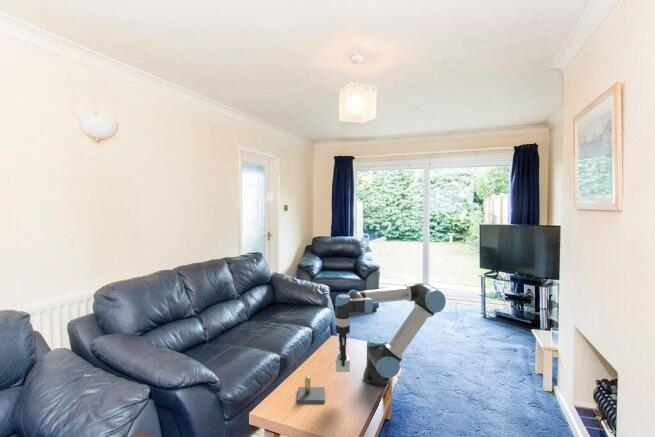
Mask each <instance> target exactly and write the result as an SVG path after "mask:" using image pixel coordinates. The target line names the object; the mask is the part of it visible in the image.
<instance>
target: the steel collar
mask: <svg viewBox="0 0 655 437" xmlns="http://www.w3.org/2000/svg"><path fill="white" fill-rule="evenodd" d="M340 358H341V354H340V353H336V354H335V372H337V373H338V372H340V360H339V359H340ZM350 371H351V362H350V355H349V353H346V372H345V373H347V372H348V373H350ZM340 373H341V372H340Z"/></svg>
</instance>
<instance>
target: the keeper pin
mask: <svg viewBox="0 0 655 437" xmlns="http://www.w3.org/2000/svg"><path fill="white" fill-rule="evenodd" d="M304 387H305V394H306V395H309V394H310V387H311V378H310V376H306V377H305V378H304Z"/></svg>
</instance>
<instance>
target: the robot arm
mask: <svg viewBox="0 0 655 437" xmlns="http://www.w3.org/2000/svg"><path fill="white" fill-rule="evenodd" d="M401 301H407V302H413V305H414V308H412V310H411V312H410V313H409V315H408V316H407V317H406V318H405V320H404V321H403V323H402V324H401V325H400V327H399V329H398V330H396V333H395V334H394V335H393V337H392V338H391V340H390V341H389V342H388V340H386V339H383V338H377V337H376V338H370V339H368V340H367V342H366V366H365V369H364V371H363V376H362V377H363V378H362V379H363V381H364V382H365V383H366V384H367V385H369V386H374V387H384V386H386V385H389V383H390V382H391V378H393V377H396V376H397V375H398V373H399V372H400V371H401V370H400V369H401V365H400V364H401V362H402V360H403V358H404V357H403V353H404V352H405V351H406V350H407V348H408V347H409V345H410V344H411V343H412V340H414V338H415V337H416V335H417V334H418V332H419V331H420V329H422V327H423V325H424V324H425V323H426V322H427V320H428V318H432V317H433V316H434V315H435V314H436V313H440V312H442V311H443V310H444V309H445V306H446V304H447V302H446V296H445V295H444V293H443V292H442V291H441V290H440V289H438V288H435V286H432V285H430V284H428V283H426V282H425V283H424V282H423V283H421V282H419V283H408V284H405V285H404V286H397V287H388V288H379V289H368V290H356V289H350V290H349V291H348V292H347V294H345V293H342V294H338V295H336V297H335V303H334V304H335V318H334V319H333V320H334V321H335V327H334V328H335V331H334V332H335V333H336V334H338V342H339V354H341V358H340V359H339V360H340V373H347V372H346V354H347V340H348V339H347V338H348V337H347V335H349V334H350V333H351V326H350V325H351V314H365V313H372V312H373V311H374V310H373V309H374V304H382V303H390V302H391V303H392V302H401Z"/></svg>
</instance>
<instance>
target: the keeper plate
mask: <svg viewBox="0 0 655 437" xmlns="http://www.w3.org/2000/svg"><path fill="white" fill-rule="evenodd" d="M325 397H326V391H325V386H310V394H309V395H306V394H305V386H299V387H298V391H297V399H296V403H297V404H325V403H326V400H325V399H326V398H325Z"/></svg>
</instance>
